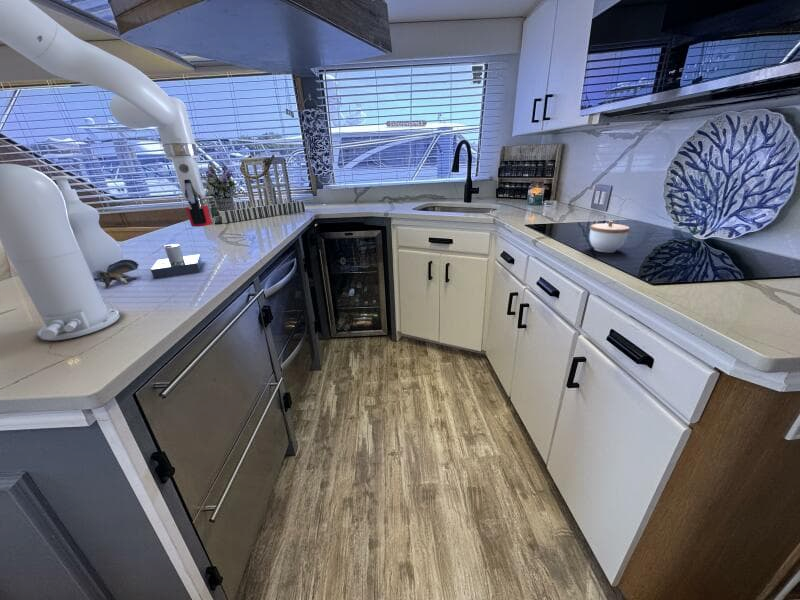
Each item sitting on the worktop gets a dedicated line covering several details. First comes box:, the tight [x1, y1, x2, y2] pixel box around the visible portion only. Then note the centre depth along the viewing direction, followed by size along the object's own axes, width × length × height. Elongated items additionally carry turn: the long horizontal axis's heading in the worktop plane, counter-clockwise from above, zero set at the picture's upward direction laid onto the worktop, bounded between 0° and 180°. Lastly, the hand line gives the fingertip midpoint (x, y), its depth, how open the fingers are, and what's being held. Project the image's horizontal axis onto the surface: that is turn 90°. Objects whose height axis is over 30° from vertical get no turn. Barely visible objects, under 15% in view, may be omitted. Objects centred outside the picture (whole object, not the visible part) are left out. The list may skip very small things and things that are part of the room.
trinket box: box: [588, 220, 631, 253], centre depth 104 cm, size 11×11×9 cm
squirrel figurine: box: [93, 259, 139, 289], centre depth 92 cm, size 8×7×9 cm
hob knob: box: [163, 243, 184, 263], centre depth 101 cm, size 4×4×5 cm
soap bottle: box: [50, 175, 124, 280], centre depth 96 cm, size 17×12×29 cm
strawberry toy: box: [185, 203, 213, 228], centre depth 91 cm, size 5×5×6 cm
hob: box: [150, 254, 203, 280], centre depth 102 cm, size 12×12×3 cm
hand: (200, 221), depth 92 cm, fingers closed on strawberry toy, 5 cm apart
